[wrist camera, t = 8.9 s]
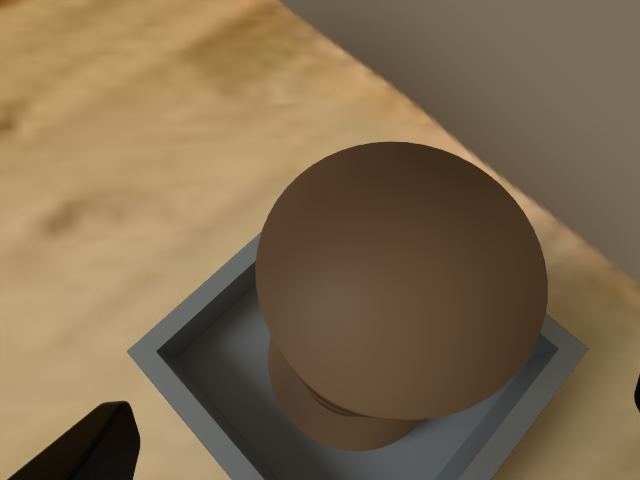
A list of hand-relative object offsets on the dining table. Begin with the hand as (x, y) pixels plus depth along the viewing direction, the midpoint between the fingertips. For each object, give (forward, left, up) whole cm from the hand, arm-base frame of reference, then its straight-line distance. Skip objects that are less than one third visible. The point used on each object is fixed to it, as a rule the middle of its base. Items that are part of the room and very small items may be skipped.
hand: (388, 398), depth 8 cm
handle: (+1, -1, -11) cm, 12 cm away
